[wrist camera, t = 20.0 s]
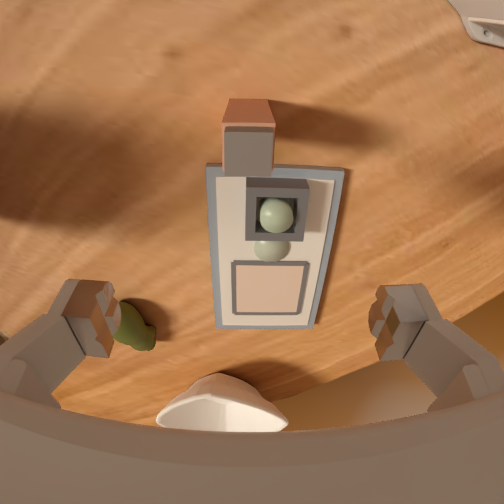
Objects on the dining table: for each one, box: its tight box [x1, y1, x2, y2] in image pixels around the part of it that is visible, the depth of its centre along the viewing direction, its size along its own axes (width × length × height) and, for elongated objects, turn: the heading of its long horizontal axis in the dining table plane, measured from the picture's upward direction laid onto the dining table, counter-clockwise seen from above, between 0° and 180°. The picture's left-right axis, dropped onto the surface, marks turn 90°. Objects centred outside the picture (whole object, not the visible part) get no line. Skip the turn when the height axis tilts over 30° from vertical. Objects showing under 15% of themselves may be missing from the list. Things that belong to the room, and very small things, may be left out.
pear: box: [112, 302, 156, 351], centre depth 44 cm, size 6×5×10 cm
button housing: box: [245, 177, 310, 242], centre depth 32 cm, size 6×6×2 cm
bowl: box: [156, 373, 288, 432], centre depth 54 cm, size 21×21×9 cm
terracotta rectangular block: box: [222, 99, 276, 177], centre depth 24 cm, size 4×4×12 cm
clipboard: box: [206, 163, 345, 329], centre depth 38 cm, size 14×24×1 cm, turn 179°
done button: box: [259, 197, 293, 233], centre depth 32 cm, size 3×3×2 cm
